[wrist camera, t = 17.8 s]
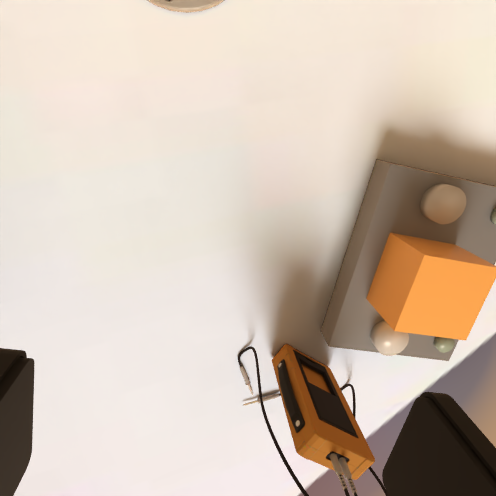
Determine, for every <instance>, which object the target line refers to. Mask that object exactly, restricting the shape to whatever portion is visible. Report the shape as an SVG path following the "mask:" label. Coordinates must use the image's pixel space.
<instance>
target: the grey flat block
mask: <svg viewBox="0 0 496 496" xmlns="http://www.w3.org/2000/svg"><path fill="white" fill-rule="evenodd" d="M390 233H395V234H401V235H406V236H412V237H417V238H423V239H428V240H433V241H439V242H444V243H450V244H455V245H457V246H459V247H461V248H463V249H465V250H467V251H469V252H471V253H472V254H474V255H476V256H478V257H480V258H482V259H484V260H486V261H487V262H489V263H491V264H493V265H494V264H495V262H496V186H492V185H487V184H483V183H479V182H474V181H470V180H465V179H461V178H456V177H452V176H448V175H443V174H439V173H434V172H430V171H425V170H421V169H417V168H412V167H408V166H403V165H399V164H395V163H390V162H386V161H381V160H377V159H376V162H375V166H374V169H373V172H372V175H371V178H370V181H369V184H368V187H367V190H366V193H365V196H364V199H363V202H362V205H361V208H360V211H359V215H358V218H357V221H356V224H355V227H354V230H353V233H352V236H351V239H350V242H349V245H348V248H347V251H346V254H345V257H344V261H343V264H342V267H341V270H340V273H339V276H338V279H337V282H336V285H335V288H334V291H333V294H332V297H331V300H330V303H329V306H328V310H327V313H326V316H325V319H324V322H323V325H322V328H321V333H322V335H323V337H324V338H325V340H326V342H327V344H328V346H330V347H338V348H346V349H354V350H363V351H371V352H379V353H381V354H383V355H386V356H392V355H404V356H412V357H420V358H429V359H437V360H445V361H449V359H450V357H451V355H452V353H453V351H454V349H455V346H456V344H457V342H458V340H459V339H451V338H444V337H436V336H428V335H421V334H413V333H405V332H398V331H394V330H393V329H392V328H391V327H390V326H389V324H388V323H387V322H386V321H385V320H384V319H383V318H382V316H381V315H380V314H379V313H378V312H377V311H376V309H375V308H374V307H373V306H372V305H371V304H370V303H369V301H368V300H367V299H366V298H367V295H368V292H369V290H370V287H371V284H372V281H373V278H374V276H375V273H376V270H377V267H378V264H379V262H380V259H381V256H382V253H383V251H384V248H385V245H386V242H387V239H388V237H389V234H390Z"/></svg>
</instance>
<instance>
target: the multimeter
mask: <svg viewBox="0 0 496 496" xmlns="http://www.w3.org/2000/svg"><path fill="white" fill-rule="evenodd" d="M249 349H252V350H253V352H254V354H255V359H256V367H257V377H258V387H259V395H260V398H258V400H256V401H253V402H249V403H246V404H244V405H248V404H252V403H255V402H259V403H260V402H261V407H262V412H263V415H264V418H265V421H266V424H267V427H268V429H269V432H270V434H271V437H272V439H273V441H274V443H275V446H276V448H277V450H278V452H279V454H280V456H281V458H282V460H283V462H284V464H285V465H286V467H287V469H288V471H289V472H290V474H291V476H292V478H293V479H294V481H295V482H296V484H297V486H298V487H299V489H300V490H301V492H302V493H303V494H304V496H309V495H308V494H307V492H306V491H305V490H304V488H303V487H302V485H301V484H300V482H299V481H298V479H297V477H296V476H295V474H294V473H293V471H292V469H291V467H290V466H289V464H288V462H287V460H286V459H285V457H284V455H283V453H282V451H281V449H280V447H279V445H278V443H277V440H276V438H275V436H274V434H273V432H272V429H271V426H270V424H269V421H268V419H267V415H266V412H265V409H264V405H263V401H267V400H270V399H274V398H277V397H279V396H281V397H282V401H283V405H284V408H285V412H286V416H287V419H288V423H289V427H290V430H291V434H292V438H293V441H294V445H295V449H296V452H297V453H298V454H299V455H300V456H302V457H304V458H306V459H308V460H312V461H314V462H316V463H318V464H321V465H323V466H325V467H327V468H330V469H332V470H334V471H335V473H336V475H338V477H339V480H340V483H341V485H342V487H343V490H344V491H345V494H346V496H350V495H349V493H348V488H347V485H346V483H345V480H344V478H343V475H344V476H345V478H346V479H347V480H348V483H349V485H350V488H351V491H352V493H353V495H355V496H357V491H356V488H355V486H354V483H353V481H352V479H354V480H355V479H358V478H359V477H360V476H361V475H362V474H363V473H364V472H365V471H366V470H367V469H368V468H369V469H370V471H371V472H372V474H373V475H374V476H375V478H376V479H377V481H378V482H379V484H380V485H381V487H382V489H383V491H384V493H385V494H386V496H389V495H388V493H387V491H386V489H385V487H384V486H383V484H382V482H381V481H380V479H379V478H378V476H377V475H376V474H375V472H374V471H373V470H372V468H371V467H370V466H371V465H372V464H373V463H374V462H375V458H374V456H373V455H372V452H371V450H370V448H369V446H368V444H367V442H366V440H365V438H364V436H363V434H362V432H361V430H360V428H359V426H358V424H357V422H356V420H355V407H356V406H355V392H354V388H353V386H352V385H351V384H347V385H345V386H344V387H342V388H341V389H340V388H339V386H338V384H337V382H336V380H335V378H334V376H333V374H332V372H331V369H330V368H329V367H328V366H326V365H324V364H322V363H320V362H318V361H316V360H314V359H312V358H311V357H309V356H307V355H305V354H303V353H302V352H300V351H298V350H296V349H294V348H293V347H292V346H290V345H288V344H285V345H284V346H283V347H282V348H281V350H280V351H279V352H278V353H277V354H276V356H275V357H274V358H273V359H272V363H273V366H274V370H275V374H276V378H277V382H278V385H279V390H280V394H279V393H278V394H273V395H269V396H266V397H262V392H261V384H260V374H259V365H258V359H257V354H256V351H255V349H254V348H253V347H248V348H246V349H244V350H243V351H241V352H240V354H239V356H238V362H239V365H240V370H241V373H242V375H243V377H244V380H245V382H246V385H248V386H249V389H250V391H251V394H252V395H253V392H252V389H251V387H250V385H249V384H250V381H249V379H248V377H247V374H246V372H245V369H244V367H243V366H242V365H241V362H240V356H241V355H242V354H243V353H244V352H245V351H247V350H249ZM348 386H350V387H351V388H352V393H353V414H352V412H351V410H350V407H349V405H348V403H347V401H346V399H345V397H344V395H343V394H342V390H343V389H344V388H346V387H348ZM342 474H343V475H342Z"/></svg>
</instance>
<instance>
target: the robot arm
mask: <svg viewBox="0 0 496 496" xmlns="http://www.w3.org/2000/svg"><path fill="white" fill-rule="evenodd" d="M147 1H149V2H151V3H152V4H154V5H156V6H158V7H161V8H164V9H167V10H170V11H177V12H186V13H188V12H197V11H203V10H206V9H209V8H212V7H215V6H216V5H218V4H220V3H221V2H223V1H225V0H171V1H167V0H147ZM33 394H34V360H33V359H31V358H27V356H26V352H25V351H22V350H12V349H3V348H0V496H13V495H14V493H15V491H16V489H17V487H18V485H19V483H20V481H21V479H22V477H23V475H24V473H25V471H26V469H27V466H28V464H29V461H30V457H31V453H32V429H33ZM382 476H383V483H384V486H385V488H386V491H387V493H388V495H389V496H496V448H495V447H494V446H493V444H492V443H491V442H490V441H489V440H488V439H487V438H486V436H485V435H484V434H483V433H482V432H481V431H480V430H479V428H478V427H477V426H476V425H475V424H474V423H473V421H472V420H471V419H470V418H469V417H468V416H467V414H466V413H465V412H464V411H463V410H462V409H461V408H460V406H459V405H458V404H457V403H456V402H455V401H454V399H453V398H451V397H450V396H449V395H447V394H443V393H433V392H424V393H422V394H421V396H420V397H418V398H417V399H416V400H415V402H414V404H413V406H412V408H411V410H410V412H409V415H408V417H407V419H406V422H405V423H404V426H403V428H402V430H401V432H400V434H399V436H398V439H397V441H396V443H395V445H394V447H393V450H392V452H391V454H390V456H389V458H388V461H387V463H386V465H385V467H384V469H383V475H382Z"/></svg>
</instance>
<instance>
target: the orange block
mask: <svg viewBox="0 0 496 496" xmlns="http://www.w3.org/2000/svg"><path fill="white" fill-rule="evenodd" d="M495 278H496V266H495V265H493V264H491V263H489V262H487V261H486V260H484V259H482V258H480V257H478V256H476V255H474V254H472V253H471V252H469V251H467V250H465V249H463V248H461V247H459V246H457V245H455V244H450V243H444V242H439V241H433V240H428V239H423V238H417V237H412V236H406V235H401V234H395V233H390V234H389V237H388V239H387V242H386V245H385V248H384V251H383V253H382V256H381V259H380V262H379V264H378V267H377V270H376V273H375V276H374V278H373V281H372V284H371V287H370V290H369V292H368V295H367V298H366V299H367V300H368V301H369V303H370V304H371V305H372V306H373V307H374V308H375V309H376V311H377V312H378V313H379V314H380V315H381V316H382V318H383V319H384V320H385V321H386V322H387V323H388V324H389V326H390V327H391V328H392V329H393V330H394V331H398V332H405V333H413V334H421V335H428V336H436V337H444V338H451V339H459V340H466V339H467V337H468V335H469V333H470V331H471V329H472V326H473V324H474V322H475V320H476V318H477V316H478V314H479V312H480V310H481V308H482V306H483V303H484V301H485V299H486V297H487V295H488V293H489V291H490V289H491V287H492V285H493V283H494V281H495Z"/></svg>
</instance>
